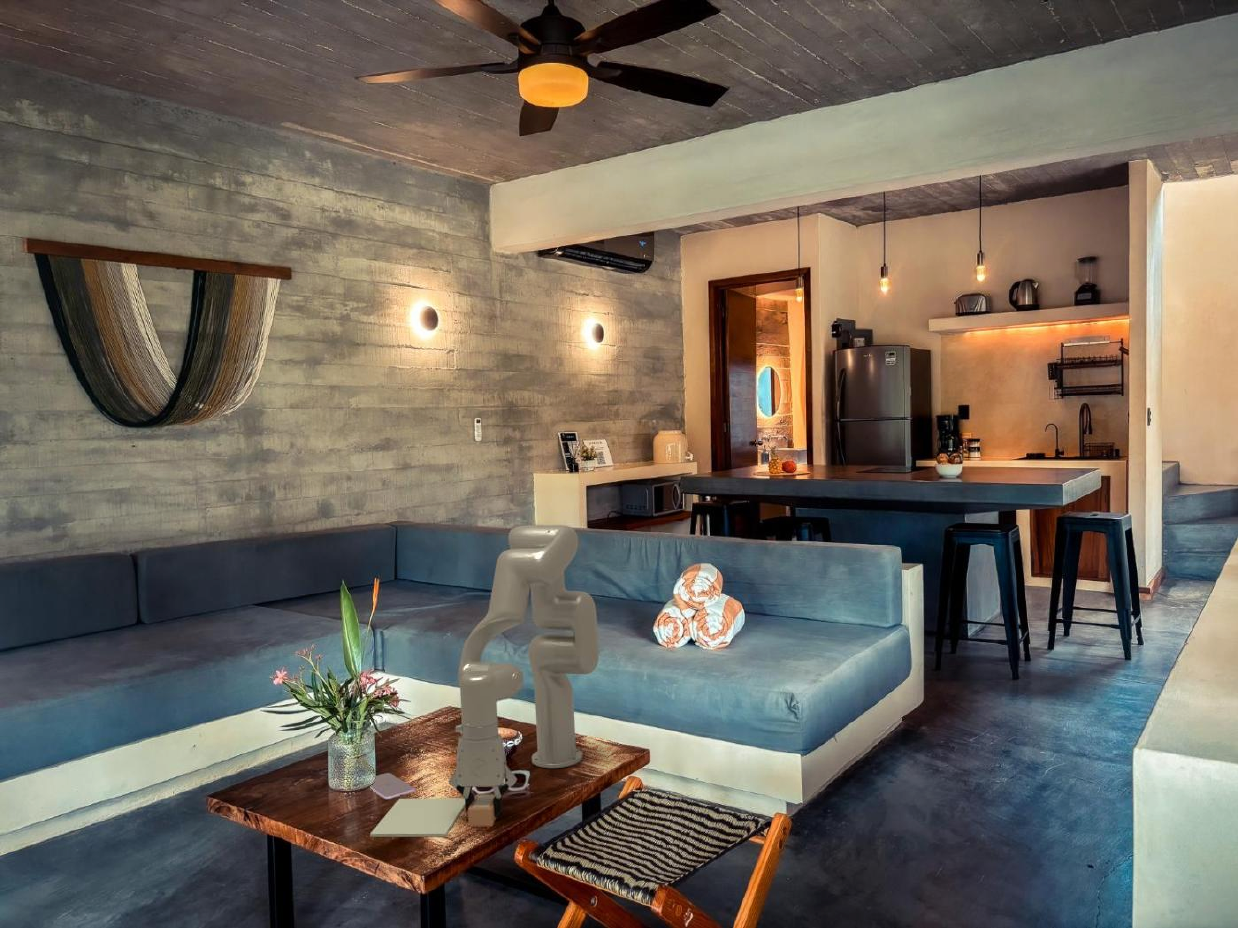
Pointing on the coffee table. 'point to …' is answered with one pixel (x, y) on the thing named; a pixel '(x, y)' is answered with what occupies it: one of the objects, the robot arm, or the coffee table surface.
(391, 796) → the mobile phone
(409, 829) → the play mat
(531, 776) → the coffee table surface
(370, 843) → the coffee table surface
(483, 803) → the block
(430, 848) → the coffee table surface
